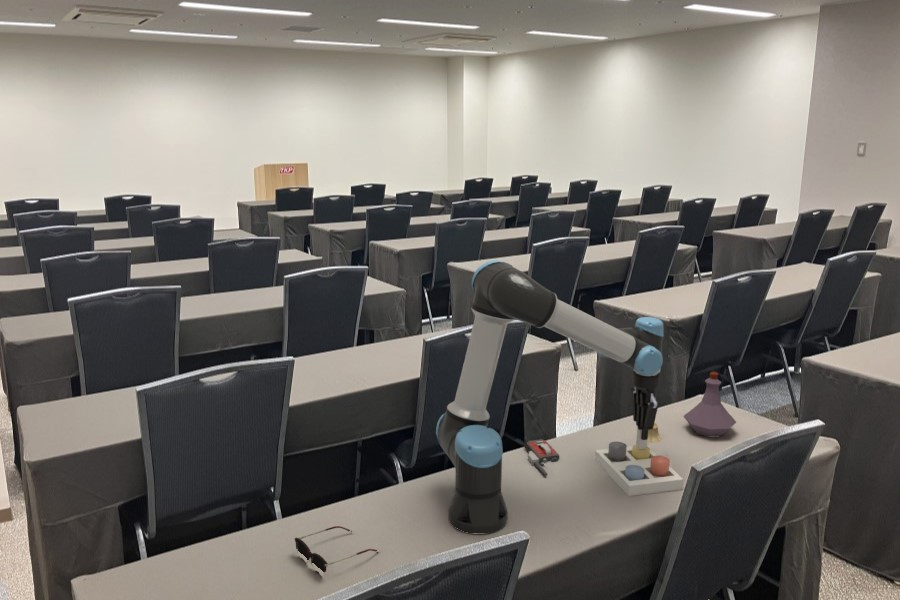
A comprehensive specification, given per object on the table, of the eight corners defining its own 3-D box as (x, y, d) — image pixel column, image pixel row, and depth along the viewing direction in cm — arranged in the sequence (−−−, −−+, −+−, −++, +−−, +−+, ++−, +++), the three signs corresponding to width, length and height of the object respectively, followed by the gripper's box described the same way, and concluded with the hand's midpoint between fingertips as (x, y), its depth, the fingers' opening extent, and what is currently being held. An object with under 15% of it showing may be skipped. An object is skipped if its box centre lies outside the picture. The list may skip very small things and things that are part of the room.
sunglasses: (294, 555, 179) (294, 536, 178) (351, 535, 189) (351, 516, 188) (325, 582, 169) (325, 562, 168) (383, 559, 179) (384, 540, 178)
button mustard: (636, 466, 218) (637, 453, 217) (628, 458, 223) (629, 446, 222) (652, 464, 219) (653, 451, 218) (644, 456, 224) (644, 444, 223)
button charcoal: (612, 462, 216) (613, 449, 215) (605, 455, 221) (606, 442, 220) (628, 460, 217) (629, 448, 216) (621, 453, 222) (621, 440, 221)
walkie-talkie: (517, 449, 233) (542, 479, 215) (517, 436, 232) (543, 465, 214) (543, 446, 236) (571, 475, 217) (544, 433, 235) (571, 461, 216)
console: (628, 499, 203) (629, 485, 202) (594, 462, 224) (595, 450, 223) (682, 492, 207) (683, 479, 206) (644, 457, 228) (645, 444, 227)
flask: (734, 424, 251) (740, 367, 246) (736, 445, 235) (743, 385, 230) (682, 418, 255) (687, 362, 250) (681, 438, 240) (686, 379, 235)
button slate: (629, 487, 206) (630, 474, 205) (621, 478, 211) (622, 465, 210) (646, 485, 207) (647, 472, 206) (638, 476, 212) (639, 463, 211)
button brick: (655, 477, 207) (656, 464, 206) (646, 469, 212) (647, 456, 211) (672, 475, 208) (673, 462, 207) (662, 467, 213) (664, 454, 212)
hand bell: (631, 437, 241) (634, 390, 237) (653, 433, 244) (657, 387, 240) (645, 448, 234) (648, 399, 230) (668, 444, 236) (672, 396, 232)
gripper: (670, 378, 209) (664, 456, 215) (647, 363, 221) (642, 437, 227) (645, 380, 207) (640, 459, 213) (624, 365, 219) (619, 440, 225)
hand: (641, 448), depth 220 cm, fingers closed
